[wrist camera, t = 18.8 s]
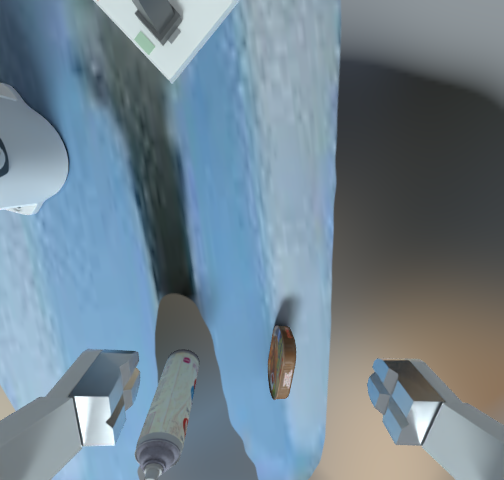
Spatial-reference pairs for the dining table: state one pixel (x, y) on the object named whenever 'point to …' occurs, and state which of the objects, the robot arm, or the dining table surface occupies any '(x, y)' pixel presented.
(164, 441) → the aerosol can
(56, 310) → the dining table surface
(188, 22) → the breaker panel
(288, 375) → the tin
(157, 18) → the post
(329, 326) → the dining table surface
